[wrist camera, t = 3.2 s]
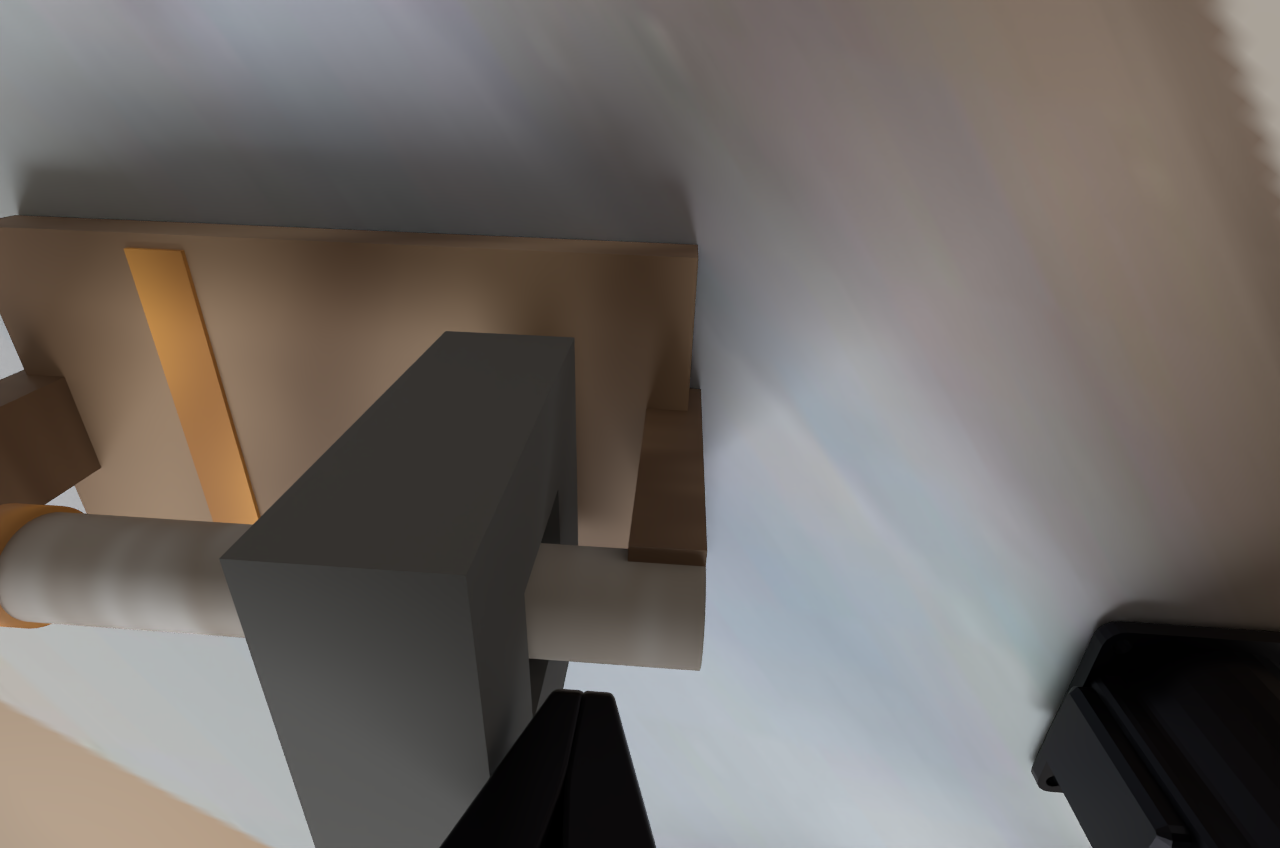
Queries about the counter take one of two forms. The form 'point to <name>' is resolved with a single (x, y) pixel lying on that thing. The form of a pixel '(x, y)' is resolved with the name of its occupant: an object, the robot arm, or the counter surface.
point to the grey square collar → (414, 589)
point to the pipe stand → (327, 411)
